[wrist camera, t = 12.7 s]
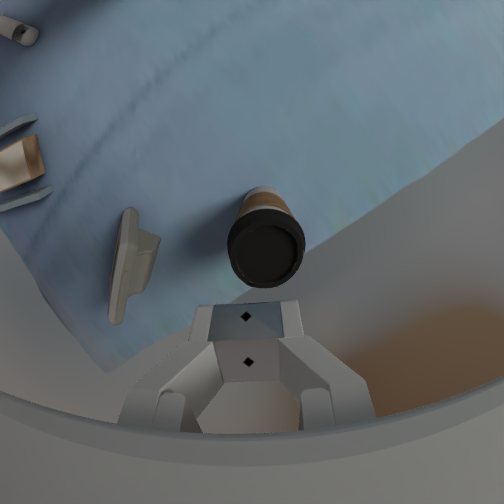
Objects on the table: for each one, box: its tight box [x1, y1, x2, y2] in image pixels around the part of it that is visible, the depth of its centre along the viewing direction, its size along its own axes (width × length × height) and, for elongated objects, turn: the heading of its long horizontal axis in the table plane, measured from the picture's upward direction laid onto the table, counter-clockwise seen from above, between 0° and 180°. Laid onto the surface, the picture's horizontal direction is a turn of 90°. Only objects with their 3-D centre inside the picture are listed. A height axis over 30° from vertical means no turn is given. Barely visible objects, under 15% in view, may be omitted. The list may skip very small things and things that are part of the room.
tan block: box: [0, 134, 45, 193], centre depth 35 cm, size 7×10×5 cm
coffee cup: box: [227, 186, 305, 288], centre depth 36 cm, size 8×8×15 cm
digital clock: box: [108, 207, 161, 325], centre depth 42 cm, size 16×9×11 cm, turn 145°
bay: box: [0, 113, 53, 212], centre depth 36 cm, size 14×18×4 cm
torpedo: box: [0, 12, 39, 46], centre depth 22 cm, size 18×5×6 cm, turn 54°
